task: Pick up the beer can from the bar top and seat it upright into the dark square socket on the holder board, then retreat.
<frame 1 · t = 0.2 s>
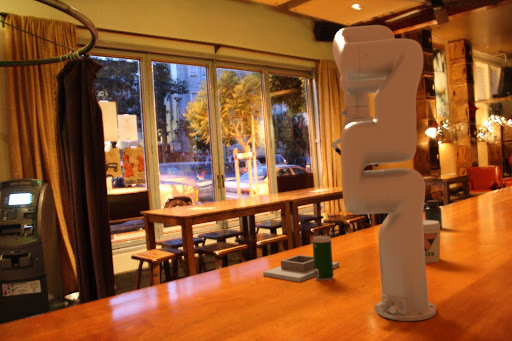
hand: (360, 167, 143), 31 cm above the bar counter, tool pointing down, fingers open, 9 cm apart
beer can: (324, 279, 131), on the bar counter
holder board: (301, 270, 141), on the bar counter
supplement bottle: (433, 228, 196), on the bar counter
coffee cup: (426, 260, 143), on the bar counter
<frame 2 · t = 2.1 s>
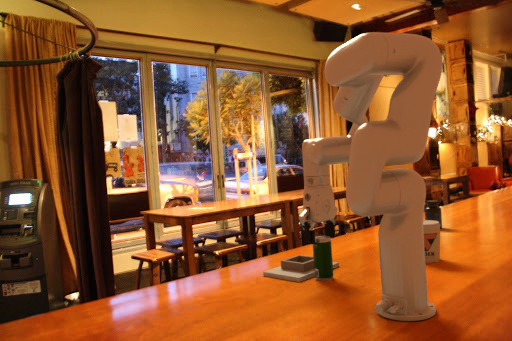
hand: (320, 240, 131), 11 cm above the bar counter, tool pointing down, fingers open, 9 cm apart
nothing on the bar counter moved.
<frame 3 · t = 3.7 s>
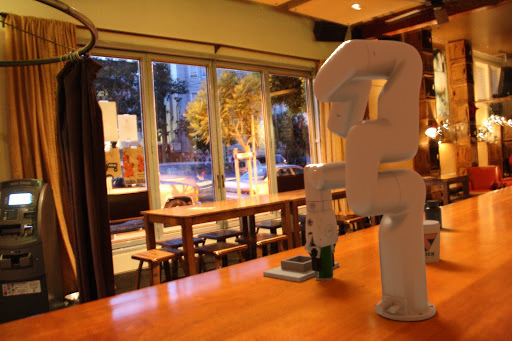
hand: (323, 268, 131), 3 cm above the bar counter, tool pointing down, fingers closed on beer can, 5 cm apart
beer can: (324, 279, 131), on the bar counter, touching gripper
everything else where it was.
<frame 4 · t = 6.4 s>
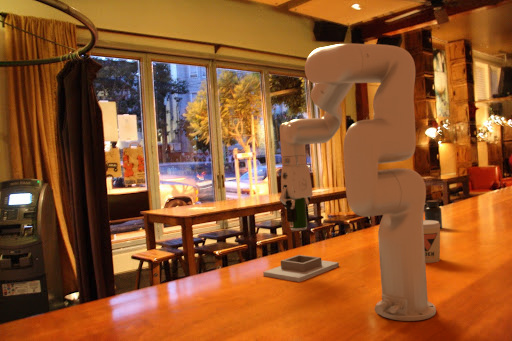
hand: (298, 219, 140), 16 cm above the bar counter, tool pointing down, fingers closed on beer can, 5 cm apart
beer can: (298, 229, 140), point 13 cm above the bar counter, touching gripper
everything else where it was.
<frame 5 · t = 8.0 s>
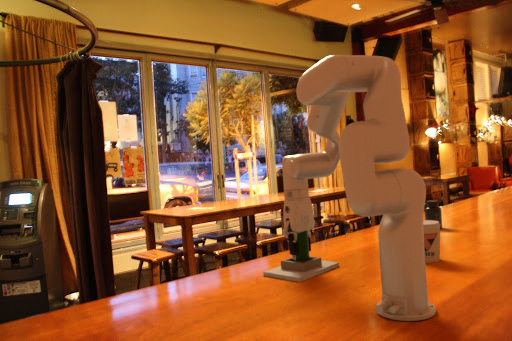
hand: (300, 252, 141), 6 cm above the bar counter, tool pointing down, fingers closed on beer can, 5 cm apart
beer can: (301, 262, 141), point 3 cm above the bar counter, touching gripper
everything else where it was.
when the fingers open (5 cm above the bar counter, at t = 9.1 s): beer can stays where it is, resting on holder board.
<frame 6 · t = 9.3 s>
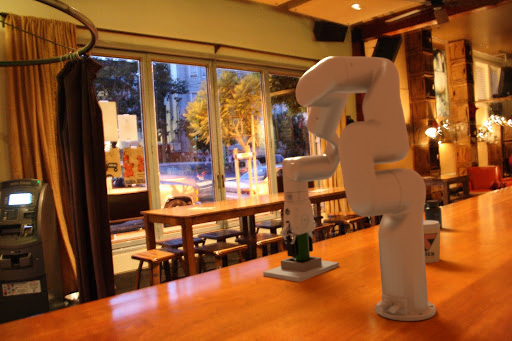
hand: (300, 253, 141), 6 cm above the bar counter, tool pointing down, fingers open, 7 cm apart
beer can: (301, 267, 141), point 1 cm above the bar counter, touching holder board
everything else where it was.
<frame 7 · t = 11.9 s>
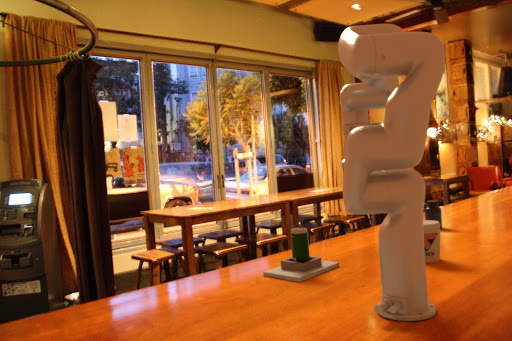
hand: (360, 189, 132), 25 cm above the bar counter, tool pointing down, fingers open, 9 cm apart
nothing on the bar counter moved.
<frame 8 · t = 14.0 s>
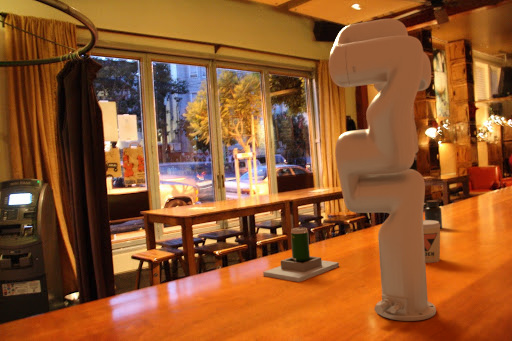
hand: (403, 175, 127), 28 cm above the bar counter, tool pointing down, fingers open, 9 cm apart
nothing on the bar counter moved.
at the end: beer can 0.2 cm off-centre on the holder board, point 1.0 cm above the holder board's base; beer can tilted 0°; the gripper is holding nothing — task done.
